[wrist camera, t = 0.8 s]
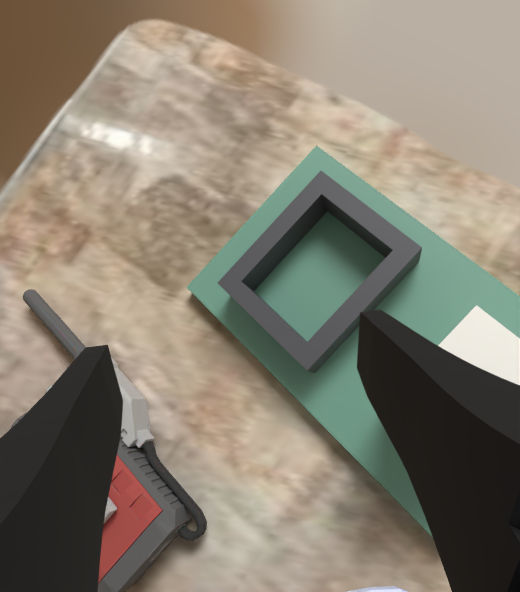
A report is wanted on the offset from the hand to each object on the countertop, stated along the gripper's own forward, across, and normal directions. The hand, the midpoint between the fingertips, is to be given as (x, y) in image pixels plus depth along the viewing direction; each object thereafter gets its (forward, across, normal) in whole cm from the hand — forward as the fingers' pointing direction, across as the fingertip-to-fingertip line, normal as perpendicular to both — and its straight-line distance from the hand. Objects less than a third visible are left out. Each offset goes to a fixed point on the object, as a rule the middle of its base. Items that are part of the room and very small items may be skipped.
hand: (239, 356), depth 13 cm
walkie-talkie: (+13, +10, +14) cm, 21 cm away
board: (+10, -8, +7) cm, 15 cm away
